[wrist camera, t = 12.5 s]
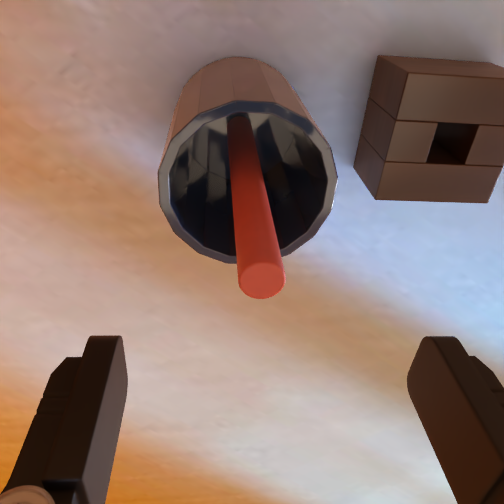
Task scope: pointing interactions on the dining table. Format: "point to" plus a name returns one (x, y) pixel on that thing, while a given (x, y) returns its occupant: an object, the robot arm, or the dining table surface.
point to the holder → (432, 130)
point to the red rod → (252, 216)
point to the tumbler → (269, 152)
